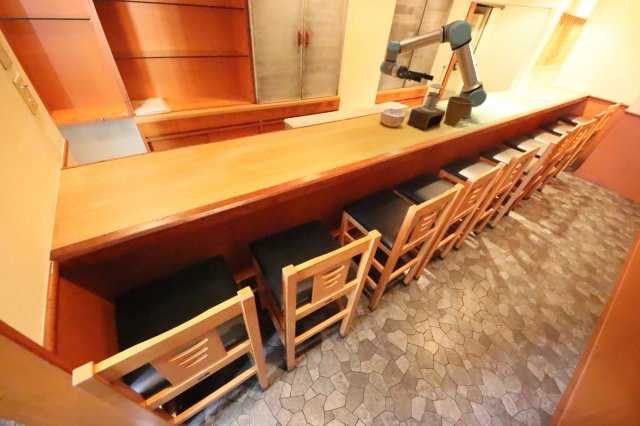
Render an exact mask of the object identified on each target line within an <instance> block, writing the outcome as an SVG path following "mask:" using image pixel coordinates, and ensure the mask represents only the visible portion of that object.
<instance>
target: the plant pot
mask: <svg viewBox="0 0 640 426" xmlns="http://www.w3.org/2000/svg"><path fill="white" fill-rule="evenodd" d="M472 104H473V102H472V101H471V100H468V99H465V98H461V97H459V96H454V95H453V96H449V98H448V101H447V106H446V109H445V115H444V116H445V118H444V123H445V124H446V125H448V126H457V124H459V122H460V121H461V120H462V119H463V116H464V115H465V114H466V112H467V111H468V110H469V108H470V107H471V105H472Z"/></svg>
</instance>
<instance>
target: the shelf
mask: <svg viewBox="0 0 640 426" xmlns="http://www.w3.org/2000/svg"><path fill="white" fill-rule="evenodd" d="M422 107H423V106H418V107H414V108H412V109H411V111H410V114H409V117H408V121H407V122H406V124H407V125H408V126H409V127H410V126H411V127H413V128H415V129H418V130H420V131H423V132H425V131H429V130H432V129H435V128H439V127H440V126H441V123H442V121H443V119H444V116H445V115H446V110H443V109H440V108H437V107H436V112H428V111H424V110H422V109H421V108H422Z"/></svg>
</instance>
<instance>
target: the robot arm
mask: <svg viewBox="0 0 640 426" xmlns="http://www.w3.org/2000/svg"><path fill="white" fill-rule="evenodd" d="M472 30H473V29H472V25H471V23H470V22H469V21H468V20H463V19H462V20H460V19H457V20H454V21H452V22H450V23H447V24H445V25H442V26H440V27H439V28H438V29H435V30H432V31H428V32H425V33H422V34H418V35H416V36H412V37H409V38H405V39H403V40H399V41H396V40H390V41H389V43H388V46H387V48H386V57H385V60H384V61H382V62H381V64H380V66H379V71H380V73H381V74H384V75H387V76H389V77H392V78H393V77H394V79H396V78H397V79H399V80H400V79H401V80H404V79H405V80H407V81H408V82H411V81H413V82H416V83H421V82H422V79H423V80H427V81H430V82H433V81H434V76H435V75H431V74H427V72H420V71H415V70H409V68H408V66H405V65H402V64H399V63H397V61H398V56H399V55H401V54H404V53H408V52H411V51H414V50H418V49H423V48H425V47H429V46H431V45H436V44H441V45H442V44H446V43H449V44H450V50H451V52H453V53H454V54H455V56H456V60H457V65H458V68H459V71H460V76H461V80H462V83H463V85H462V88H461V90H460V91H459V92H460V93H459V95H458V97H461V98H465V99H468V100H471V101H472V102H473V104H472V105H471V107H470V108H469V110H468V111H467V112H466V114H465V115H464V116H463V118H464V119H468V118H470V117H471V115H472V111H473V108H478V107H480V106H482V105H483V104H484V103H485V102H486V100H487V98H488V94H487V91H486V90H485V88H484V84H483V81H481V80H480V79H479V76H478V69H477V66H476V63H475V59H474V53H473V50H472V45H471V44H472V42H473V36H472V32H473V31H472ZM463 118H462V119H463Z"/></svg>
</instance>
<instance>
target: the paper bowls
mask: <svg viewBox="0 0 640 426" xmlns="http://www.w3.org/2000/svg"><path fill="white" fill-rule="evenodd" d="M405 118H406V112H405V111H403V110H400V109H396V108H391V107H390V108H388V107H387V108H383V109H381V112H380V117H379V119H380V120H381V121H382V124H383V125H385V126H387V127H391V128H395V127H396V128H397V127H398V126H400V125H401V124H403V123H404V122H405Z"/></svg>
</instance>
